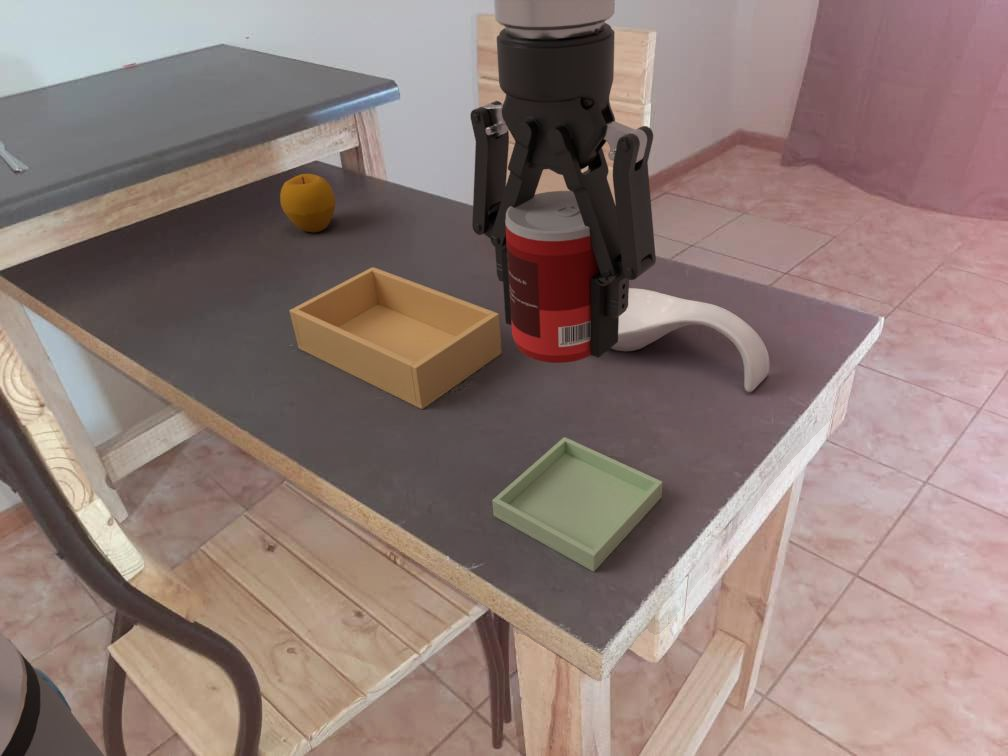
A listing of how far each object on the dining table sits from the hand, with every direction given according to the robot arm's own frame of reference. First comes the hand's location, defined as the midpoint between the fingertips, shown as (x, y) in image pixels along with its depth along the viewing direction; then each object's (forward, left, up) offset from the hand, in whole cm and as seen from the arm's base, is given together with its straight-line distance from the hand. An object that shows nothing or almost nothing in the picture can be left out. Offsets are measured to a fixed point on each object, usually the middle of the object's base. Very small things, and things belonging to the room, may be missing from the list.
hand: (560, 332), depth 62 cm
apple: (+27, +70, -18) cm, 77 cm away
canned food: (0, 0, -1) cm, 1 cm away
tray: (0, -2, -18) cm, 18 cm away
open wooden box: (+9, +31, -18) cm, 37 cm away
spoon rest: (+26, +4, -18) cm, 32 cm away
